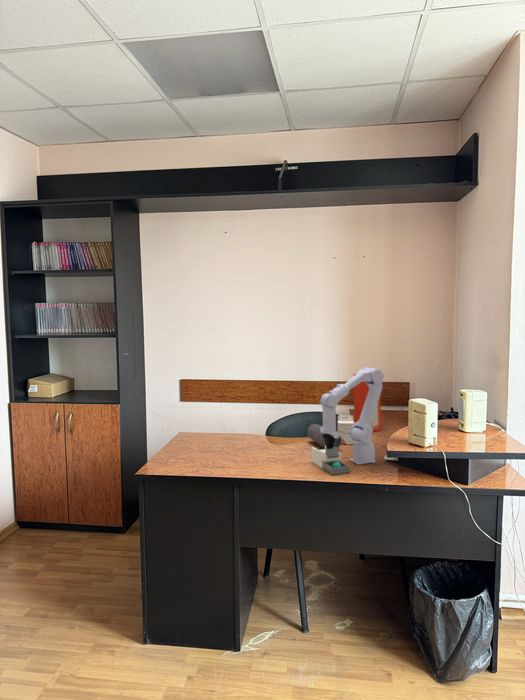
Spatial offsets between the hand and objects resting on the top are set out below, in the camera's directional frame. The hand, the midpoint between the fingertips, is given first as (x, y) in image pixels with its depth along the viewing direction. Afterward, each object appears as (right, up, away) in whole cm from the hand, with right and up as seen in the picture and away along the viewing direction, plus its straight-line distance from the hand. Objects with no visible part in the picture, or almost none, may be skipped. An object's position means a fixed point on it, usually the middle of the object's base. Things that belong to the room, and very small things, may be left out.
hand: (329, 450), depth 216 cm
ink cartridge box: (+14, -5, +39) cm, 42 cm away
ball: (+2, -6, -6) cm, 9 cm away
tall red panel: (+32, -2, +71) cm, 78 cm away
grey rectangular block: (+1, -2, -2) cm, 3 cm away
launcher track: (-1, -7, +4) cm, 8 cm away
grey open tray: (+2, -8, -6) cm, 10 cm away
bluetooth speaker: (+2, -5, +34) cm, 35 cm away
